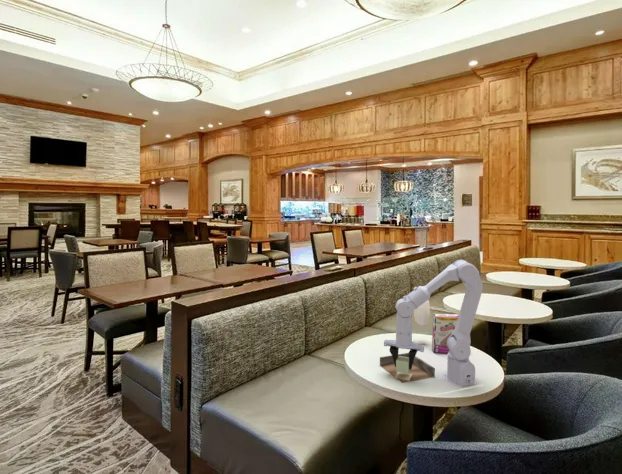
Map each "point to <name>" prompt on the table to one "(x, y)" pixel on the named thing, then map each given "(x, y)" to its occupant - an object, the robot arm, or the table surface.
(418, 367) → the tray
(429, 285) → the robot arm
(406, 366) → the sage cube
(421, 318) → the cup
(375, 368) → the table surface
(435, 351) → the candy bar box
